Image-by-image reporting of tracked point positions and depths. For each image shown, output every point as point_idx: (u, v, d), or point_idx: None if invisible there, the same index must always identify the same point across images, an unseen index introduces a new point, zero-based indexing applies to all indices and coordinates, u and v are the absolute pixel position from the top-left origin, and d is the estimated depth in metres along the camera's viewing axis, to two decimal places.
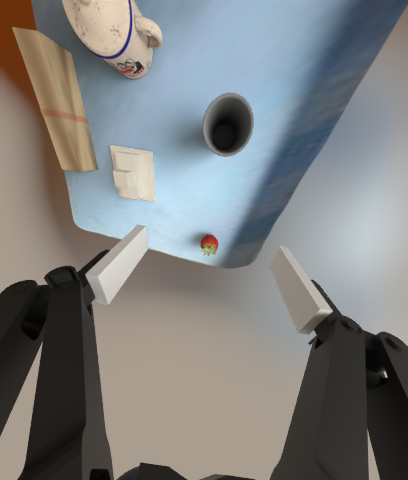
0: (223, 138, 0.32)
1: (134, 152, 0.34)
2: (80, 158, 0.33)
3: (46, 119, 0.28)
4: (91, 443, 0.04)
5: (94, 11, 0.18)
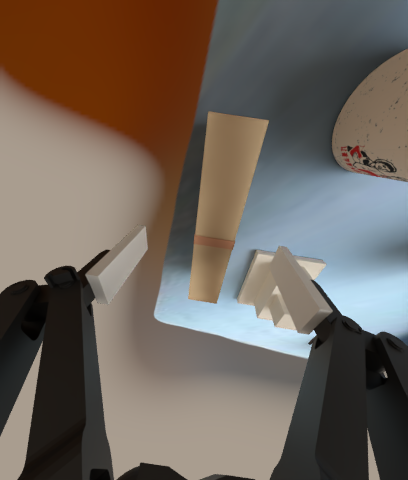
0: None
1: None
2: None
3: (196, 248, 0.15)
4: (91, 443, 0.04)
5: None
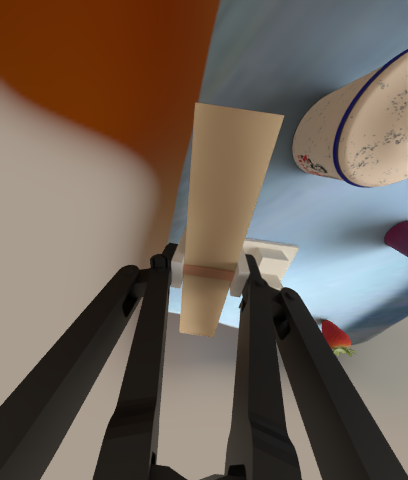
0: None
1: (274, 248, 0.26)
2: None
3: (186, 279, 0.12)
4: (155, 424, 0.05)
5: None
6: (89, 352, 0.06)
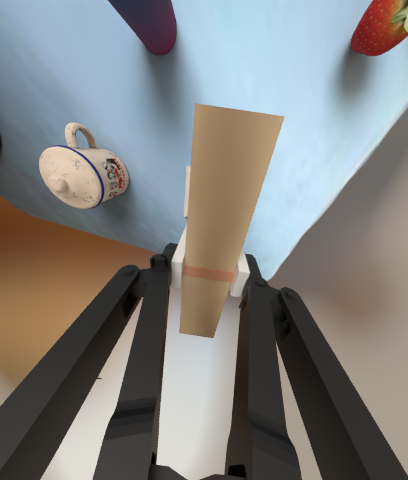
0: None
1: (188, 190, 0.29)
2: None
3: (186, 280, 0.12)
4: (155, 424, 0.05)
5: (68, 178, 0.20)
6: (89, 352, 0.06)
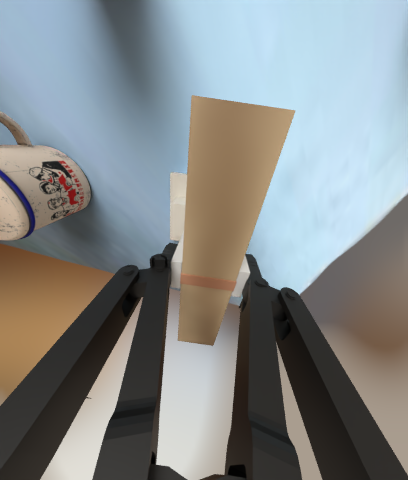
0: None
1: None
2: None
3: (184, 288, 0.11)
4: (155, 424, 0.05)
5: None
6: (89, 352, 0.06)
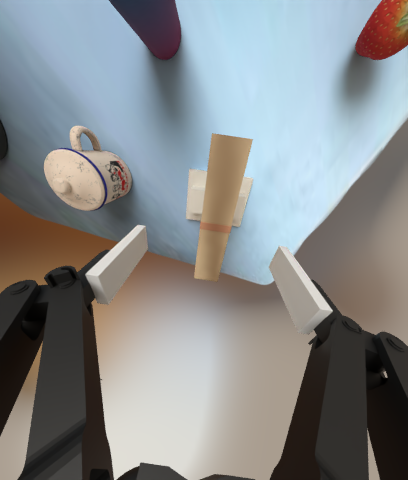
0: None
1: None
2: None
3: (201, 233, 0.20)
4: (91, 443, 0.04)
5: (72, 180, 0.20)
6: None
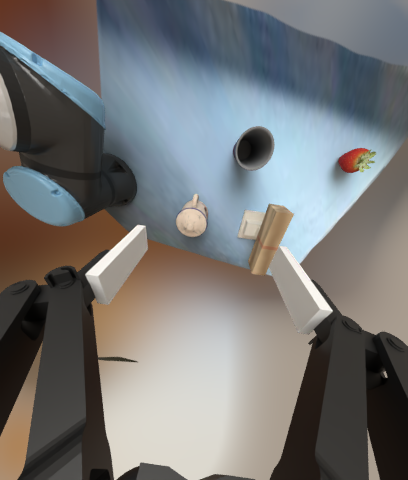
0: (244, 150, 0.39)
1: (244, 223, 0.49)
2: None
3: (262, 250, 0.40)
4: (91, 443, 0.04)
5: (195, 224, 0.40)
6: None
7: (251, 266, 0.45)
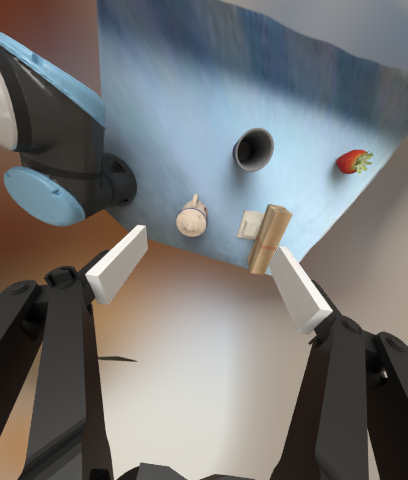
0: (243, 151, 0.39)
1: (243, 223, 0.49)
2: None
3: (261, 250, 0.40)
4: (91, 443, 0.04)
5: (195, 224, 0.40)
6: None
7: (250, 266, 0.46)
